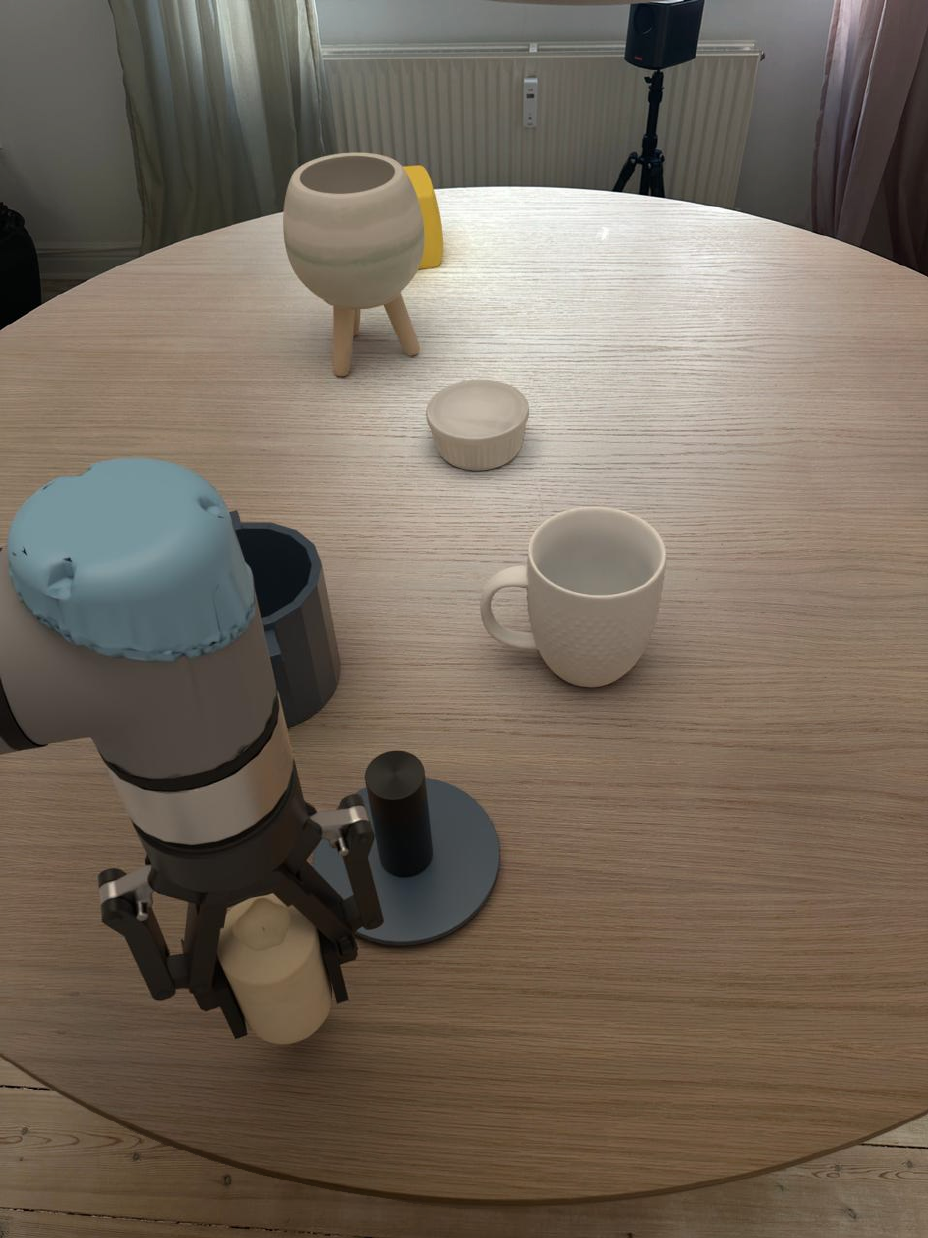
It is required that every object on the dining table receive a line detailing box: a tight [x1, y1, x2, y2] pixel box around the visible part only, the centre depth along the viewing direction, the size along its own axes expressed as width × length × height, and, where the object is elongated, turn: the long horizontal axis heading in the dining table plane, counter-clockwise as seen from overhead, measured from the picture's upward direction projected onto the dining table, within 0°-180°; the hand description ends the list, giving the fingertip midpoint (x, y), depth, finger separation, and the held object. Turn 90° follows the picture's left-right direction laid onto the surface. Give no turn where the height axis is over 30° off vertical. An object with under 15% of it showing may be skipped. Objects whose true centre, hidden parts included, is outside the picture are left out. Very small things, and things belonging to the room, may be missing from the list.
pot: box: [229, 510, 341, 729], centre depth 82 cm, size 13×18×12 cm
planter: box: [282, 152, 425, 378], centre depth 116 cm, size 16×16×22 cm
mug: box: [479, 506, 667, 688], centre depth 82 cm, size 15×11×13 cm
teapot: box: [402, 164, 444, 270], centre depth 139 cm, size 20×12×12 cm, turn 9°
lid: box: [312, 749, 501, 946], centre depth 69 cm, size 14×14×11 cm
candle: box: [217, 893, 333, 1045], centre depth 57 cm, size 6×6×10 cm
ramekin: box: [425, 379, 530, 472], centre depth 108 cm, size 11×11×5 cm
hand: (287, 998), depth 60 cm, fingers closed on candle, 5 cm apart
